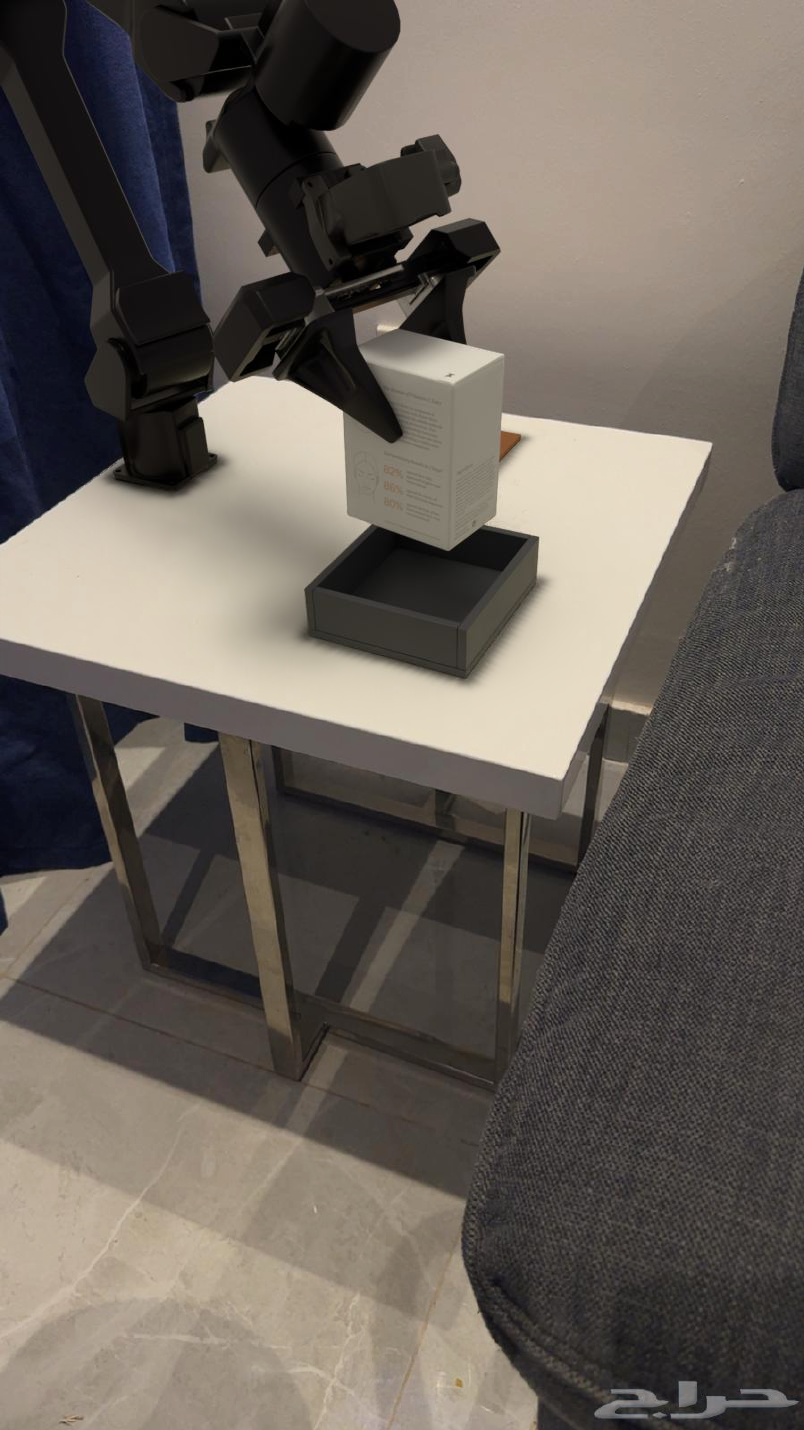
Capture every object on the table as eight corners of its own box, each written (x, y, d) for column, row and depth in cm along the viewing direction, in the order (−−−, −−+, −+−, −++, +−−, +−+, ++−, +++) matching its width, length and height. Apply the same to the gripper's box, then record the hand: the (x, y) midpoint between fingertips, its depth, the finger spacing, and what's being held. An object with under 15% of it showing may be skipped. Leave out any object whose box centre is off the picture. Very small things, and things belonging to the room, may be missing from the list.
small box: (497, 519, 65) (510, 353, 59) (448, 554, 62) (455, 383, 55) (396, 484, 69) (396, 324, 62) (343, 516, 66) (338, 350, 59)
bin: (308, 635, 67) (303, 588, 65) (393, 548, 76) (391, 504, 73) (465, 678, 63) (466, 630, 61) (536, 582, 72) (539, 536, 69)
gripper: (214, 111, 48) (386, 404, 49) (482, 62, 58) (620, 306, 59) (148, 255, 57) (293, 499, 58) (388, 192, 67) (509, 401, 68)
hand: (435, 423), depth 61 cm, fingers closed on small box, 6 cm apart
